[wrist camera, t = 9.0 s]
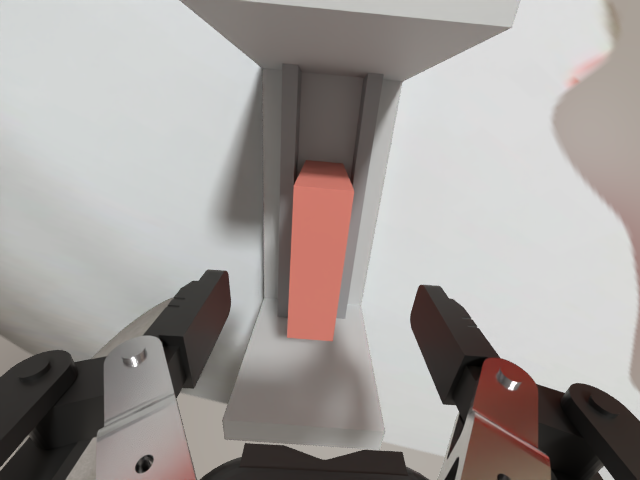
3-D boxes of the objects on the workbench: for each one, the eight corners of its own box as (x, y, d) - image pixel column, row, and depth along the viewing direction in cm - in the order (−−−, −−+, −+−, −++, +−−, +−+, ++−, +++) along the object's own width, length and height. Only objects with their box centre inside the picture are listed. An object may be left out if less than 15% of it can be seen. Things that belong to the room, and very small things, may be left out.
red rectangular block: (306, 159, 21) (293, 185, 13) (343, 163, 21) (354, 190, 13) (299, 266, 25) (287, 337, 17) (330, 269, 25) (332, 341, 17)
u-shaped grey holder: (267, 41, 19) (159, -108, 7) (401, 54, 20) (541, -68, 7) (268, 301, 29) (224, 439, 17) (356, 308, 30) (379, 449, 17)
